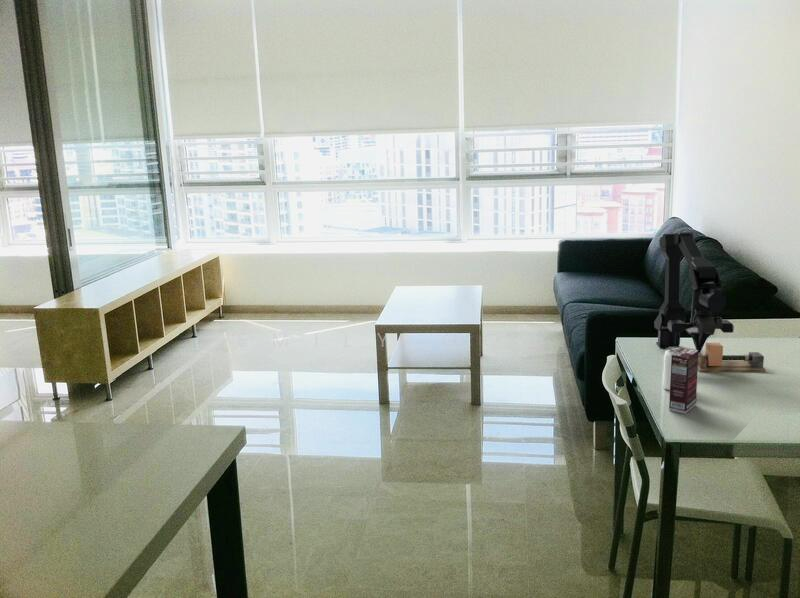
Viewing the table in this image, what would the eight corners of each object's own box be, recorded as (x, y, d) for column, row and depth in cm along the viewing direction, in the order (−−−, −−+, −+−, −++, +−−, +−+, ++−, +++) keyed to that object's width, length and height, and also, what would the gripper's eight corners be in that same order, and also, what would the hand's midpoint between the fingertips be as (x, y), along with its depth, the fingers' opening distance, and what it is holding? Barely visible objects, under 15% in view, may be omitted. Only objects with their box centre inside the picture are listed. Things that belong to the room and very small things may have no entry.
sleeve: (708, 365, 237) (709, 346, 236) (704, 361, 241) (705, 342, 240) (721, 365, 237) (723, 346, 235) (717, 361, 241) (718, 342, 239)
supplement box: (678, 401, 211) (682, 347, 207) (696, 405, 208) (700, 350, 204) (667, 410, 204) (670, 354, 201) (685, 414, 201) (689, 357, 198)
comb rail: (699, 371, 235) (700, 358, 234) (690, 363, 244) (691, 350, 243) (765, 372, 233) (766, 358, 232) (754, 363, 242) (756, 350, 241)
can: (682, 384, 224) (685, 346, 222) (688, 392, 218) (691, 352, 215) (660, 384, 225) (662, 346, 222) (665, 392, 219) (667, 352, 216)
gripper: (677, 310, 228) (674, 359, 232) (741, 310, 226) (737, 360, 230) (668, 302, 239) (665, 349, 242) (729, 302, 237) (725, 349, 241)
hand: (698, 352), depth 238 cm, fingers closed
